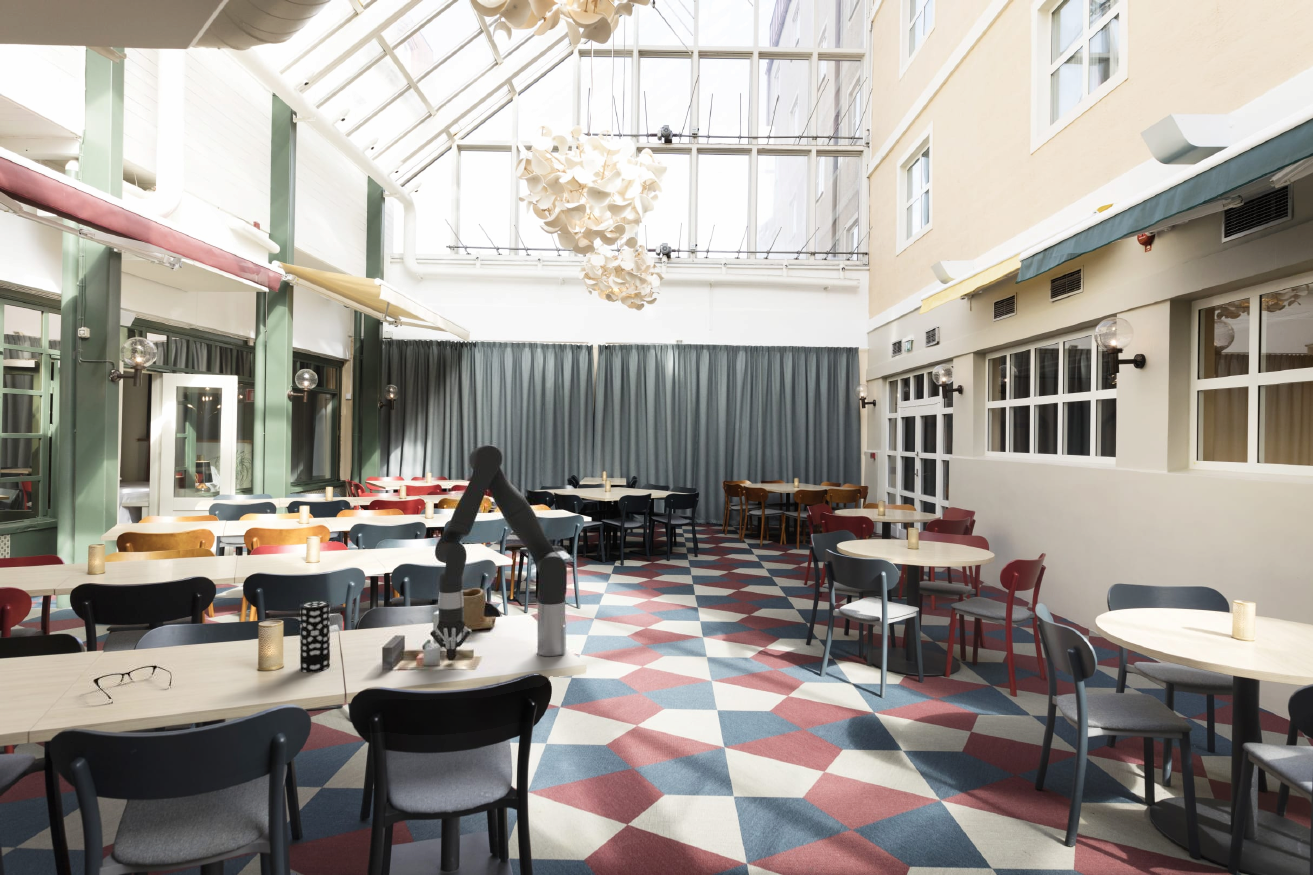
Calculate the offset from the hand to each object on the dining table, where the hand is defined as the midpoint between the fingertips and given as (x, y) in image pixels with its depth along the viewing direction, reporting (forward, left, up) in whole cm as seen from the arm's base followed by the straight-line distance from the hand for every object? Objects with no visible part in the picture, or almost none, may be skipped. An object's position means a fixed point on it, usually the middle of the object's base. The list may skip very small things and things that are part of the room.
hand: (451, 659), depth 218 cm
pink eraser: (+9, 0, -1) cm, 9 cm away
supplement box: (+6, -20, -3) cm, 21 cm away
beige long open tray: (+5, 0, -3) cm, 6 cm away
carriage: (+5, 0, -1) cm, 6 cm away
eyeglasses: (+86, +15, -3) cm, 88 cm away
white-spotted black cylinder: (+42, -1, -3) cm, 42 cm away
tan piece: (+1, -41, -3) cm, 41 cm away
